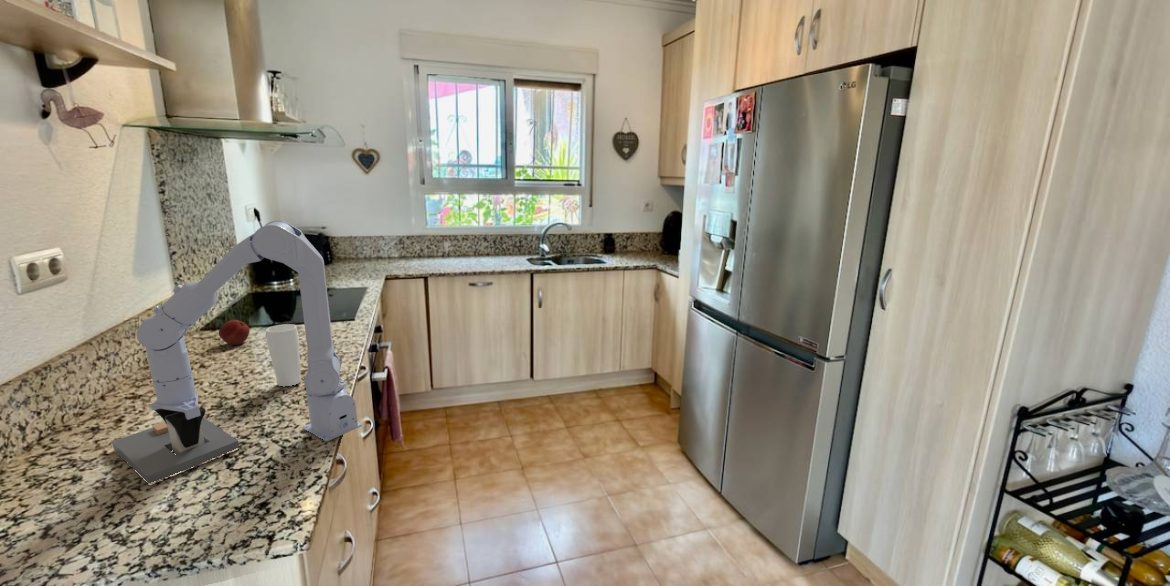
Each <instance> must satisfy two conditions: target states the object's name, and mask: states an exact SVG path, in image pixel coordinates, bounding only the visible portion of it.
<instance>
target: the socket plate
mask: <svg viewBox="0 0 1170 586" xmlns="http://www.w3.org/2000/svg"><path fill="white" fill-rule="evenodd" d="M201 427H202V432H203V437H204V442H205V444H202V445H199V446H197V447H194V448H191V449H189V450H186V451H183V452H181V453H178V454H176V455H175V454H174V453H173V452H171V451H172V450H173V449H172V444H171V440H170V435H169V431H168V426H167V424H166V423H165V421H163V422H160V423H158V424H155V425H152V427H150V428H147V429H144V430H141V431H138V432H136V433H132V434H129V435H126V436H124V437H120V438H118V439H115V440H111V443H112V447H113V451H114V450H115V451H116V452H117V453H118V454H119V455H120V456H121V457H122V458H123V459H124V460H125V461H126V462H128V464H129V465H130V466H132V467H133V469H134V470H136V471H137V472H138V473H139V474H140V475H141V476H142V477H143V478H144V479H145V480H146V481H147V482H148V483H151V482H154V481H157V480H159V479H162V478H165V477H168V476H170V475H173V474H175V473H178V472H180V471H183V470H186V469H188V468H191V467H193V466H195V465H198V464H200V463H202V462H205V461H207V460H210V459H212V458H215V457H217V456H220V455H222V454H225V453H227V452H229V451H232V450H234V449H236V448H240V443H239V440H237V439H236V438H235V437H233V435H230V434H229V433H228V432H226V431H224V429H222V428H220V427H219V426H217V425H215V424H214V422H212V421H210V420H208V419H206V418H205V416H203V419H202V421H201ZM115 451H114V452H115ZM116 452H115V453H116ZM117 453H116V454H117ZM118 454H117V455H118ZM119 455H118V456H119ZM120 456H119V457H120ZM121 457H120V458H121ZM122 458H121V459H122ZM123 459H122V460H123ZM124 460H123V461H124ZM125 461H124V462H125ZM126 462H125V463H126ZM128 464H127V465H128ZM129 465H128V466H129ZM130 466H129V467H130ZM133 469H132V470H133ZM134 470H133V471H134Z"/></svg>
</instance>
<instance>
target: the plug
mask: <svg viewBox="0 0 1170 586" xmlns="http://www.w3.org/2000/svg"><path fill="white" fill-rule="evenodd" d="M177 413H179V412H177ZM174 414H176V413H174ZM171 415H173V414H171ZM168 416H170V415H168ZM165 417H167V416H165ZM165 419H166V418H165ZM166 422H167V426H168V431H169V435H170V440H171V444H172V449H173V452H174V453H175V454H178V453H181V452H183V451H186V450H189V449H191V448H194V447H197V446H199V445H202V444H205V442H204V437H203V432H202V427H201V425H200V432H199V442H198V444H195V445H193V446H190V447H187V448H185V447H184V446H183V444H182V443H181V441H180V438H179V436H178V434H177V432H176V430H175V428H174V427H173V425H172V424H171V423H170V422H169V421H168V420H166ZM173 452H172V453H173ZM174 453H173V454H174Z"/></svg>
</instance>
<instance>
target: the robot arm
mask: <svg viewBox="0 0 1170 586" xmlns="http://www.w3.org/2000/svg"><path fill="white" fill-rule="evenodd" d="M264 258H265V259H267V260H271V261H274V262H278V263H282V264H284V265H285V266H287V267H289V268H291V269H292V270H294V272H295V271H296V273H297V274H298V280H299V281H298V282H299V290H300V299H301V306H302V307H301V308H302V315H303V324H304V331H305V340H306V348H307V351H306V352H307V359H306V360H307V371H306V374H305V376H304V380H303V382H304V386H305V388H306V389H305V393H306V400H307V406H308V407H307V408H308V414H309V421H310V422H309V423H308V424H305V425H304V426H302V429H303V428H304V429H305V431H306V430H307V432H308V431H309V432H308V433H310V432H311V433H313V434H315V435H316V436H315V435H314V436H315V437H317V436H318V437H317V438H319V439H320V438H321V440H322V439H323V440H322V441H324V442H330V441H332V440H333V439H336V438H338V437H340V436H341V437H342V436H343V435H345V434H347V433H350V432H351V431H354V430H356V429H359V428H361V427H362V426H363V423H361V422H359V421H358V415H357V408H356V407H357V405H356V402H355V399H354V398H353V397H352V396H351V395H350V394H349V393H348V392H347V390H346V384H345V381H344V380H343V378H342V377H340V374H341V373H340V372H341V368H342V362H341V359H340V358H339V356H338V355H337V353H336V351H335V345H334V342H333V335H332V333H333V332H332V325H331V314H330V307H329V306H330V305H329V297H328V296H329V295H328V288H327V286H328V285H327V279H326V269H325V268H326V267H325V261H324V258H323V256H322V254H320V252H319V250H317V249H316V247H314V245H313V244H312V243H311V242H310V241H309V239H307V237H306V236H305V234H304V233H303V231H302V230H301V229H299V228H297V227H295V226H293V225H292V224H290V223H289V222H287V221H283V220H272V221H270V222H267V223H266V224H265V225H264V226H261V227H259V228H258V229H257V230H256V231H255V232H254V233H252V234H250V235H249V236H247V237H245V239H243V240H241V241H240V242H239V243H237V244H235V245H234V246H233V247H232V248H231V249H230V250H229V251H228V252H227V253H226V254H225V255H224V256H223V257H222V259H220V260H219V261H218V262H217V263H216V265H214V266H213V267H212V268H211V270H209V271H208V272H207V273H206V274H205V275H204V277H203V278H201V279H200V280H198V281H187V282H185V283H184V284H183V285H182V284H178V285H176V287H174V288H173V289H172V292H174V294H172V295H171V296H170V298H168V299H167V300H166V302H164V303H163V304H162V305H157V306H156V307H154V309H153V310H152V312H154V313H155V314H153V315H151V316H150V317H149V318H146V319H144V320H143V321H141V323H140V325H139V326H138V328H137V329H136V339H137V341H138V342H139V343H140V344H141V345H142V346H143V347H145V352H146V355H147V361H148V367H149V370H150V375H151V379H152V383H153V388H154V393H155V397H156V401H155V402H152V403H150V404H149V408H150V410H152V411H154V412H155V413H157V414H158V415H159V417H161V419H162V420H163V422H165V423H166V424H167V422H166V420H168V421H169V422H170V423H171V424H172V425H173V427H174V428H175V430H176V432H177V434H178V436H179V438H180V441H181V443H182V444H183V446H184V447H185V448H187V447H190V446H193V445H195V444H198V442H199V432H200V425H201V421H202V419H203V417H205V414H206V408H204V407H203V406H201V407H200V406H199V405H198V404H199V403H198V402H199V394H198V392H197V391H196V387H195V380H194V377H193V371H192V368H191V362H190V357H189V353H188V348H187V345H186V339H185V334H186V333H187V331H188V329H189V328H191V327H192V326H193V325H195V324H196V322H198V320H200V319H201V318H202V317H203V316H204V315H205V314H206V313H207V312H208V311H209V310H210V309H211V308H212V307H213V306H214V305H215V304H216V303H217V300H218V298H217V291H218V290H219V289H220V288H222V287H223V286H224V285H225V284H226V283H227V282H228V281H229V280H231V278H233V277H234V276H235V275H236V274H237V273H238V272H239V271H240V270H241V269H243V268H244V267H245V266H246V265H247V264H252V263H257V262H258V263H259V262H261V261H262V260H263V259H264ZM177 412H179V413H177ZM174 413H176V414H174ZM171 414H173V415H171ZM168 415H170V416H168ZM165 416H167V417H165ZM165 418H166V419H165ZM304 429H303V430H304ZM311 433H310V434H311ZM313 434H312V435H313Z"/></svg>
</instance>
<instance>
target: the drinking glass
mask: <svg viewBox="0 0 1170 586" xmlns="http://www.w3.org/2000/svg"><path fill="white" fill-rule="evenodd" d="M265 335H266V336H265V337H266V344H267V349H268V351H269V352H268V353H269V355H270V356H269V357H270V359H271V363H272V367H273V370H274V374H275V378H276V383H277V386H279V387H280V386H283V387H282V388H286V387H285V386H290V387H293V386H292V385H294V386H296V384H297V385H299V384H300V383H301V382H302V374H301V373H302V372H301V359H300V357H301V356H300V354H301V353H300V339H299V333H298V328H297V325H295V324H294V323H293V324H292V323H291V324H290V323H285V324H279V325H273V326H269V327H267V328H266V329H265Z"/></svg>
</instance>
